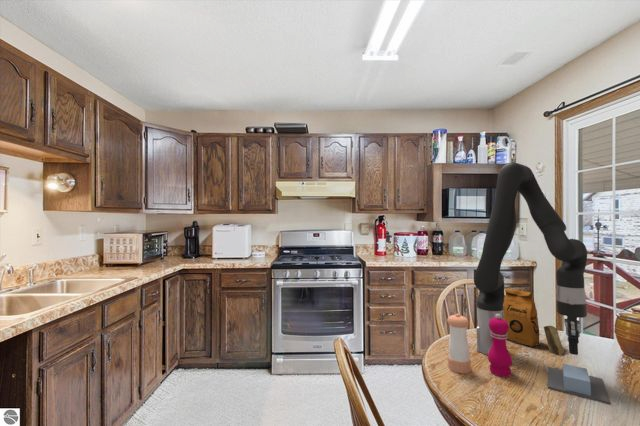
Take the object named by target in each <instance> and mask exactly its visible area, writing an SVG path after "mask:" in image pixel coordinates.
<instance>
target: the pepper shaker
mask: <svg viewBox="0 0 640 426" xmlns="http://www.w3.org/2000/svg"><path fill="white" fill-rule="evenodd" d="M446 321H447V322H446V323H447V324H448V326H449V341H448V357H447V365H448V368H449V370H451V371H453V372H455V373H460V374H469V373H470V372H471V370H472V368H471V359H470V348H469V342H468V337H467V336H468V335H467V334H468V332H467V331H468V329H467V327H468V326H469V324H470V323H469V322H470V321H469V320H468V319H467V317H465V316H463V315H460V313H455V314H451V315H449V316H448V318H447V320H446Z"/></svg>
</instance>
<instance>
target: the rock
mask: <svg viewBox="0 0 640 426" xmlns="http://www.w3.org/2000/svg"><path fill="white" fill-rule="evenodd" d="M543 331H544V334H545V338H546V340H547V347H548V351H549V352H550V353H551V354H554V355H555V356H559V357H562V356H563V354H564V353H565V352H564V348H563V345H562V342H561V341H562V340H561V338H560V335H559V331H558V328H556V327H555V326H553V325H545V326H543Z"/></svg>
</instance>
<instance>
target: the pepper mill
mask: <svg viewBox="0 0 640 426" xmlns="http://www.w3.org/2000/svg"><path fill="white" fill-rule="evenodd" d="M495 317H496V318H492V319H491V320H490V321H489V328H490V329H491V330H492V331H491V336H492V339H493V343H492V347H491V349H490V351H489V353H488V355H487V360H488V362H489V363H490V364H489V372H491V374H493V375H495V376H497V377H504V378H509V377H510V376H512V369H511V367H512V365H513V359H512V358H513V357H512V355H511V353H510V352H509V350H508V348H507V333H506V332H507V331H508V330H509V326H508V323H507V322H506V321H505V320H504V319H501V315H500V314H496V315H495Z"/></svg>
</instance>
